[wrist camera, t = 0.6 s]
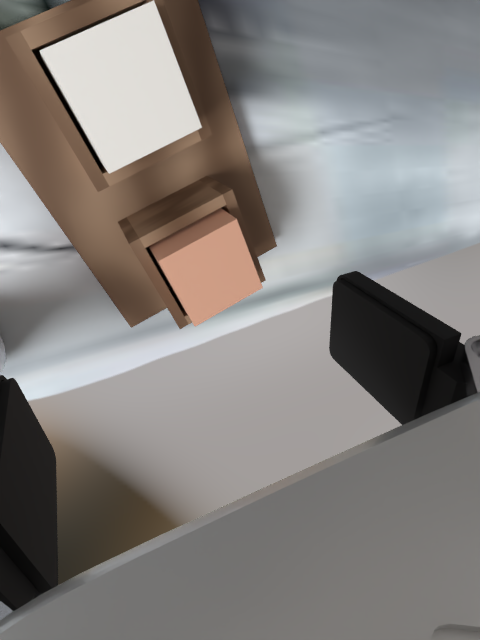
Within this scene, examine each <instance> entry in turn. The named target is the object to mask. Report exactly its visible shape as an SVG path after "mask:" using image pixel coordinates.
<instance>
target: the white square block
mask: <svg viewBox="0 0 480 640" xmlns="http://www.w3.org/2000/svg"><path fill="white" fill-rule="evenodd" d="M40 54H41V58H42V60H43V61H44V63H45V65H46V67H47V69H48V70H49V72H50V74H51V76H52V77H53V79H54V81H55V83H56V84H57V86H58V88H59V90H60V91H61V93H62V95H63V97H64V99H65V100H66V102H67V104H68V106H69V107H70V109H71V111H72V113H73V114H74V116H75V118H76V120H77V122H78V123H79V125H80V127H81V129H82V130H83V132H84V134H85V136H86V137H87V139H88V141H89V143H90V144H91V146H92V148H93V150H94V152H95V153H96V155H97V157H98V159H99V160H100V162H101V163H102V165H103V166H104V167H105V169H106V170H107V172H108V173H109V174H110V173H112V172H114V171H116V170H118V169H120V168H122V167H124V166H126V165H128V164H130V163H132V162H134V161H136V160H138V159H140V158H142V157H144V156H146V155H148V154H150V153H152V152H154V151H156V150H158V149H160V148H162V147H164V146H166V145H168V144H170V143H172V142H174V141H176V140H178V139H180V138H182V137H184V136H186V135H188V134H190V133H192V132H194V131H196V130H198V129H200V128H202V126H201V123H200V121H199V118H198V115H197V113H196V110H195V107H194V105H193V102H192V100H191V97H190V94H189V92H188V89H187V86H186V84H185V81H184V78H183V76H182V73H181V70H180V68H179V65H178V63H177V60H176V57H175V55H174V52H173V49H172V47H171V44H170V41H169V39H168V36H167V34H166V31H165V28H164V26H163V23H162V20H161V18H160V15H159V12H158V10H157V7H156V4H155V2H154V0H153V1H151V2H149V3H146V4H144V5H142V6H140V7H137V8H135V9H133V10H131V11H128V12H126V13H124V14H121V15H119V16H117V17H115V18H112V19H110V20H108V21H106V22H103V23H101V24H99V25H96V26H94V27H92V28H90V29H87V30H85V31H83V32H81V33H78V34H76V35H74V36H71V37H69V38H67V39H65V40H62V41H60V42H58V43H56V44H53V45H51V46H49V47H47V48H44V49H42V50H40Z"/></svg>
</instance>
